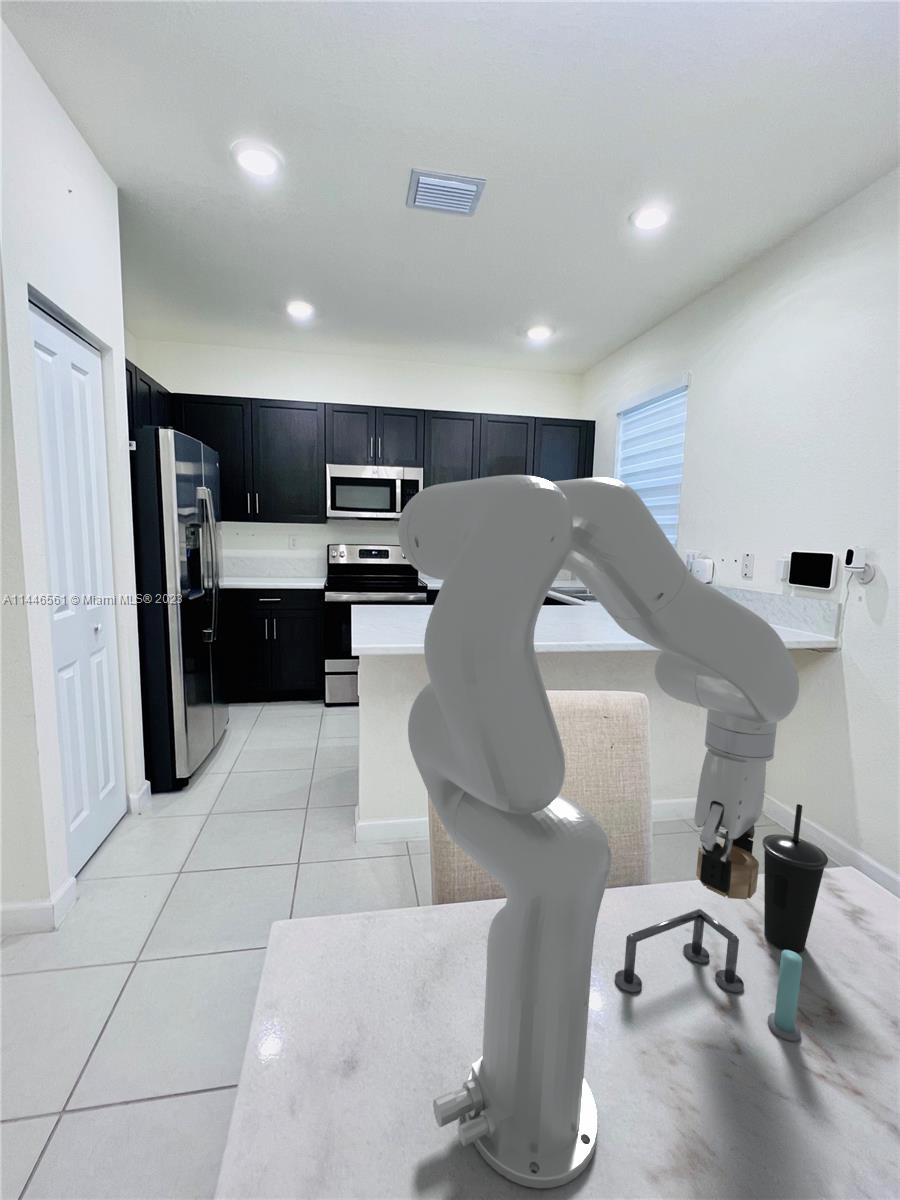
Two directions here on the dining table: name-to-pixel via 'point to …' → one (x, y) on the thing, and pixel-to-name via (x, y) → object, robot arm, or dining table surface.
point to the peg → (787, 998)
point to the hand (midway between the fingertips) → (725, 874)
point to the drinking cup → (790, 887)
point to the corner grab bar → (691, 950)
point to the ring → (737, 873)
